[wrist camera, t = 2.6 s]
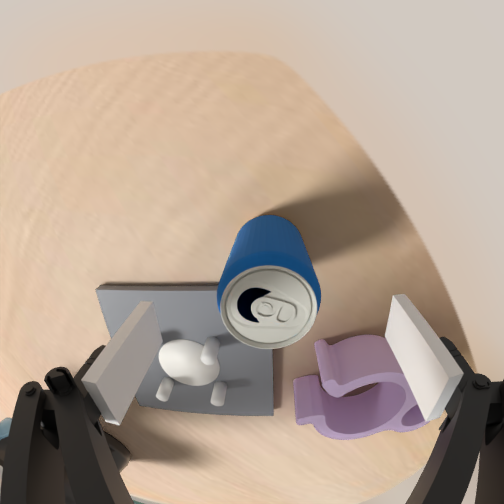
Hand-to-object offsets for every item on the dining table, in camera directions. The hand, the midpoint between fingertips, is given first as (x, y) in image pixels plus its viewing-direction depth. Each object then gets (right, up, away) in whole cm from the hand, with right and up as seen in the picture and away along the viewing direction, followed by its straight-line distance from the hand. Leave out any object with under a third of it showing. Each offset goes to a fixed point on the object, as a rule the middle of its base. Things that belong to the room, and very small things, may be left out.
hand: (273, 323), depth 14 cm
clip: (+15, -13, +18) cm, 27 cm away
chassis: (-9, -9, +18) cm, 22 cm away
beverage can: (+1, +4, +13) cm, 14 cm away
